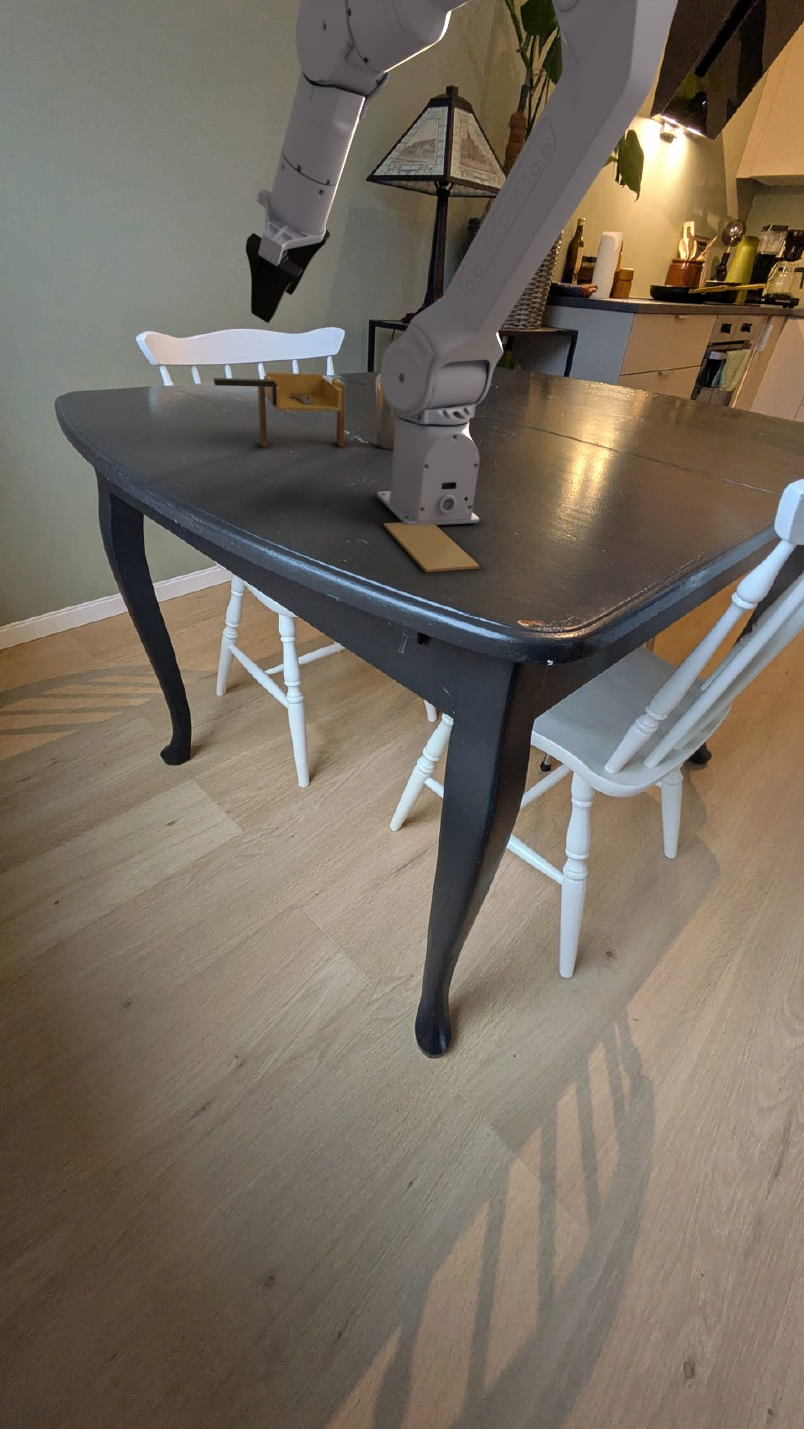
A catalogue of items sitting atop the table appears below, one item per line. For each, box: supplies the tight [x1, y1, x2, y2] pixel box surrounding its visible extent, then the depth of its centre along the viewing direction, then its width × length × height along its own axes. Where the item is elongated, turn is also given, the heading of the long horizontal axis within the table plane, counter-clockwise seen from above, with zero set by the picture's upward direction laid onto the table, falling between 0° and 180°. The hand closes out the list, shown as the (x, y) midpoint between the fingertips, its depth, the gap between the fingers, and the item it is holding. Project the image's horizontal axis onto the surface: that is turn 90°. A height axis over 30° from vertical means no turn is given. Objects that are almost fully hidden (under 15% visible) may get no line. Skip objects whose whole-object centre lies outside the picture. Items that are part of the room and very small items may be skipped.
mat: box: [383, 521, 480, 573], centre depth 58 cm, size 11×5×1 cm, turn 20°
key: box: [290, 393, 314, 405], centre depth 80 cm, size 5×2×1 cm, turn 20°
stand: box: [257, 381, 346, 448], centre depth 81 cm, size 2×11×8 cm, turn 110°
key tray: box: [213, 372, 341, 412], centre depth 78 cm, size 9×16×3 cm, turn 110°
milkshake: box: [375, 373, 396, 450], centre depth 84 cm, size 4×5×10 cm
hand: (272, 302), depth 71 cm, fingers open, 7 cm apart
